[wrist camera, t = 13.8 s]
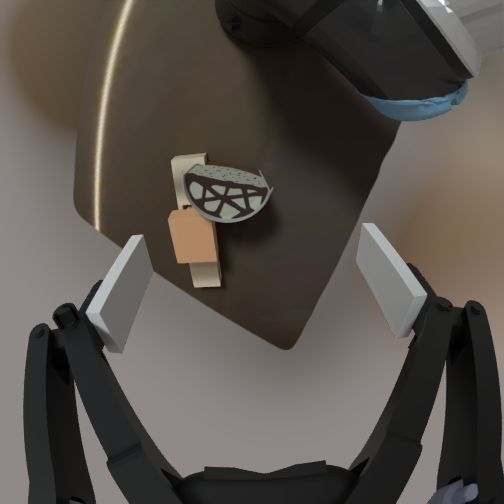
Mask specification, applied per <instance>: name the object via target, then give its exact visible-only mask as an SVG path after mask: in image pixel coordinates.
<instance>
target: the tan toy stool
mask: <svg viewBox="0 0 504 504" xmlns="http://www.w3.org/2000/svg"><path fill="white" fill-rule="evenodd" d="M168 221H169V226H170V231H171V235H172V240H173V244H174V249H175V253H176V257H177V261H178V263H193V262H213V261H217V259H218V252H219V250H218V243H217V235H216V228H215V221H214V220H211V219H208V218H206V217H204V216H203V215H201V214H200V213H199V212H197V211H196V210H195V209H194V208H193V207H192V206H191V204H190V205H188V207H187V209H185V210H174V211H172V213H171V214H170V216H169V218H168Z"/></svg>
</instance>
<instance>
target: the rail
mask: <svg viewBox="0 0 504 504" xmlns="http://www.w3.org/2000/svg"><path fill="white" fill-rule="evenodd" d="M206 162H207V153H199V154H190V155H181V156H175V157H174V158H173V159H172V160H171V164H172V171H173V177H174V184H175V190H176V196H177V202H178V208H179V210H185V209H187V205H190V203H189V201H188V200H187V198H186V196H185V194H184V191H183V187H182V170H183V173H185V172H186V171H188V170H189V169H190V168H191V167H192V166H193V165H195V164H196V163H198V164H200V165H205V164H206ZM189 265H190V270H191V274H192V279H193V283H194V287H216V286H221V277H222V276H221V269H220V262H219V255H218V259H217V261H213V262H193V263H189Z"/></svg>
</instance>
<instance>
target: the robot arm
mask: <svg viewBox="0 0 504 504" xmlns="http://www.w3.org/2000/svg"><path fill="white" fill-rule="evenodd" d="M215 9H216V13H217V16H218V19H219V21H220V23H221V24H222V26H223V27H224V28H225V30H226V31H227V32H228V33H230V34H231V35H232V36H233V37H235V38H236V39H238V40H240V41H242V42H244V43H247V44H250V45H254V46H258V47H270V48H271V47H282V46H286V45H290V44H293V43H295V42H297V41H299V40H301V39H304V40H305V41H306V42H307V43H309V44H310V45H311V46H312V47H313V48H314V49H316V50H317V51H318V52H319V53H320V54H321V55H322V56H324V57H325V58H326V59H327V60H328V61H329V62H330V63H331V64H332V65H333V66H334V67H336V68H337V69H338V70H339V71H340V72H341V73H342V74H343V75H344V76H345V77H346V78H347V79H348V80H349V81H350V82H351V83H352V84H353V87H354V89H355V90H356V91H357V92H358V93H359V94H360V95H361V96H363V97H365V98H366V99H367V100H368V101H369V102H370V103H371V104H372V105H373V106H374V107H375V108H376V109H377V110H378V111H379V112H380V113H381V114H383V115H385V116H387V117H389V118H391V119H394V120H399V121H420V120H425V119H430V118H433V117H436V116H439V115H442V114H444V113H446V112H448V111H450V110H451V105H458V104H460V103H461V102H462V101H463V99H464V98H465V96H466V94H467V91H468V81H467V79H470V78H473V77H475V76H478V74H479V69H480V64H481V60H482V59H483V57H484V56H486V55H489V54H492V53H495V52H498V51H502V50H504V0H215ZM356 263H357V265H358V266H359V268H360V270H361V272H362V273H363V275H364V277H365V279H366V281H367V283H368V285H369V287H370V289H371V290H372V292H373V294H374V296H375V298H376V300H377V302H378V304H379V306H380V308H381V310H382V312H383V314H384V316H385V318H386V320H387V322H388V325H389V327H390V329H391V331H392V333H393V335H394V337H395V339H399V338H404V337H408V335H409V334H410V332H411V330H412V329H413V330H414V332H415V335H414V338H413V339H412V341H411V343H410V345H409V347H408V348H409V351H408V354H407V357H406V359H405V362H404V365H403V367H402V370H401V372H400V375H399V377H398V380H397V382H396V384H395V387H394V389H393V391H392V393H391V396H390V398H389V400H388V402H387V404H386V406H385V408H384V411H383V412H382V415H381V417H380V418H379V421H378V422H377V424H376V426H375V428H374V430H373V432H372V434H371V435H370V437H369V439H368V441H367V443H366V444H365V446H364V448H363V449H362V451H361V452H360V454H359V455H358V456H357V458H356V459H355V460H354V461H353V463H352V464H351V466H350V467H349V469H348V470H347V469H345V468H342V467H338V466H333V465H326V461H325V460H323V461H318V462H310V463H303V464H296V465H293V466H290V467H287V468H284V469H280V470H278V471H274V472H270V473H265V474H264V473H257V472H253V471H247V470H243V469H238V468H229V467H205V470H204V471H202V472H198V473H194V474H191V475H189V476H187V477H185V478H182V477H181V475H180V474H179V473H178V472H177V471H176V470H175V469H174V468H173V467H172V466H171V465H170V464H169V462H168V461H167V460H166V459H165V457H164V456H163V455H162V453H161V452H160V450H159V449H158V448H157V446H156V445H155V443H154V442H153V440H152V439H151V437H150V436H149V434H148V433H147V432H146V430H145V428H144V427H143V425H142V424H141V422H140V420H139V419H138V417H137V415H136V414H135V412H134V410H133V408H132V407H131V405H130V403H129V402H128V400H127V398H126V396H125V395H124V393H123V391H122V389H121V387H120V385H119V383H118V382H117V379H116V377H115V375H114V373H113V371H112V369H111V367H110V365H109V363H108V361H107V359H106V356H105V354H104V353H103V351H102V349H103V347H104V345H105V346H106V348H107V349H108V351H109V352H113V353H122V352H123V349H124V346H125V344H126V340H127V338H128V335H129V332H130V330H131V326H132V324H133V322H134V319H135V316H136V314H137V311H138V309H139V306H140V303H141V301H142V298H143V296H144V293H145V291H146V289H147V286H148V284H149V281H150V279H151V276H152V274H153V272H154V271H153V268H152V265H151V261H150V258H149V254H148V251H147V247H146V244H145V240H144V236H143V235H133V236H131V238H130V239H129V241H128V242H127V244H126V245H125V247H124V249H123V250H122V252H121V253H120V255H119V256H118V258H117V259H116V261H115V263H114V264H113V266H112V267H111V269H110V271H109V272H108V274H107V276H106V277H105V279H104V280H99V281H98V282H97V283H96V284H95V285H94V286H93V288H92V289H91V291H90V294H88V296H87V298H86V299H85V301H84V303H83V304H82V306H81V308H80V310H79V311H78V310H77V309H76V307H75V305H74V304H72V303H65V304H63V305H61V306H59V307H58V308H57V309H56V310H55V311H54V313H53V320H54V321H55V323H56V325H57V326H58V329H54V330H51V329H50V328H49V326H48V325H47V324H45V323H42V324H39V325H37V326H36V327H34V328H33V330H32V331H31V333H30V336H29V343H28V350H27V358H26V367H25V379H24V402H23V403H24V404H23V410H24V411H23V413H24V414H23V419H24V441H25V453H26V462H27V469H28V475H29V482H30V484H29V496H28V504H96V500H95V495H94V491H93V487H92V483H91V479H90V476H89V472H88V468H87V464H86V460H85V455H84V450H83V445H82V440H81V434H80V428H79V422H78V415H77V407H76V398H75V387H74V380H75V383H76V386H77V388H78V391H79V394H80V397H81V399H82V402H83V405H84V407H85V410H86V412H87V414H88V417H89V419H90V421H91V424H92V426H93V428H94V430H95V433H96V435H97V437H98V439H99V441H100V443H101V445H102V447H103V449H104V451H105V453H106V455H107V457H108V461H107V462H106V463H107V467H108V469H109V471H110V473H111V475H112V477H113V478H114V480H115V482H116V484H117V485H118V487H119V488H120V490H121V492H122V493H123V495H124V496H125V498H126V499H127V501H128V502H129V504H396V502H397V500H398V499H399V497H400V495H401V493H402V492H403V490H404V488H405V486H406V484H407V482H408V480H409V478H410V476H411V474H412V472H413V470H414V468H415V466H416V464H417V461H418V459H419V457H420V455H421V452H422V445H421V444H420V442H421V438H422V436H423V433H424V430H425V428H426V425H427V423H428V419H429V417H430V414H431V411H432V408H433V405H434V402H435V399H436V395H437V392H438V388H439V385H440V381H441V377H442V373H443V369H444V365H445V361H446V411H445V425H444V435H443V443H442V450H441V457H440V463H439V469H438V476H437V491H436V492H435V493H434V494H433V496H432V497H431V499H430V500H429V501H428V502H427V504H504V474H503V467H502V463H501V442H502V441H501V440H502V413H501V396H500V385H499V376H498V369H497V362H496V356H495V351H494V345H493V340H492V335H491V331H490V326H489V323H488V319H487V315H486V311H485V309H484V307H483V306H482V305H481V304H480V303H479V302H476V301H473V300H471V301H468V302H467V303H466V305H465V307H464V308H460V307H453V305H452V303H451V302H450V301H449V300H447V299H445V298H443V297H438V296H437V295H436V294H435V292H434V291H433V289H432V288H431V286H430V285H429V284H428V283H427V281H425V278H424V277H423V276H422V274H421V273H420V272H419V270H418V269H417V268H416V267H414V266H413V265H412V264H411V263H405V262H404V261H403V260H402V258H401V257H400V256H399V254H398V253H397V252H396V251H395V249H394V248H393V247H392V245H391V244H390V243H389V242H388V240H387V239H386V238H385V237H384V235H383V234H382V233H381V232H380V231H379V229H378V228H377V227H376V226H375V225H374V223H362V228H361V234H360V240H359V246H358V252H357V257H356Z"/></svg>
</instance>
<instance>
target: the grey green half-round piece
mask: <svg viewBox="0 0 504 504" xmlns="http://www.w3.org/2000/svg"><path fill="white" fill-rule="evenodd" d="M182 187H183V191H184V194H185V196H186V198H187V200H188V201H189V203H190V204H191V206H192V207H193V208H194V209H195V210H196V211H197V212H199V213H200V214H201V215H203V216H204V217H206V218H208V219H211V220H214V221H217V222H224V223H232V222H238V221H242V220H245V219H247V218H249V217H251V216H253V215H254V214H256V213H257V212H258V211H259V210H261V209H262V208H263V206H264V205H265V204H266V203H267V201H268V199H269V197H270V195H271V192H272V190H273V187H272V189H271V190H270V189H269V187H268V185H267V183H266V181H265V179H264V177H263V175H262V173H261V171H260V170H254V169H249V168H245V167H240V166H234V165H229V164H224V163H219V162H213V161H207V162H206V164H205V165H200V164H198V163H196V164H195V165H193V166H192V167H191V168H190V169H189V170H188V171H186V172H185V173H183V170H182Z"/></svg>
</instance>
